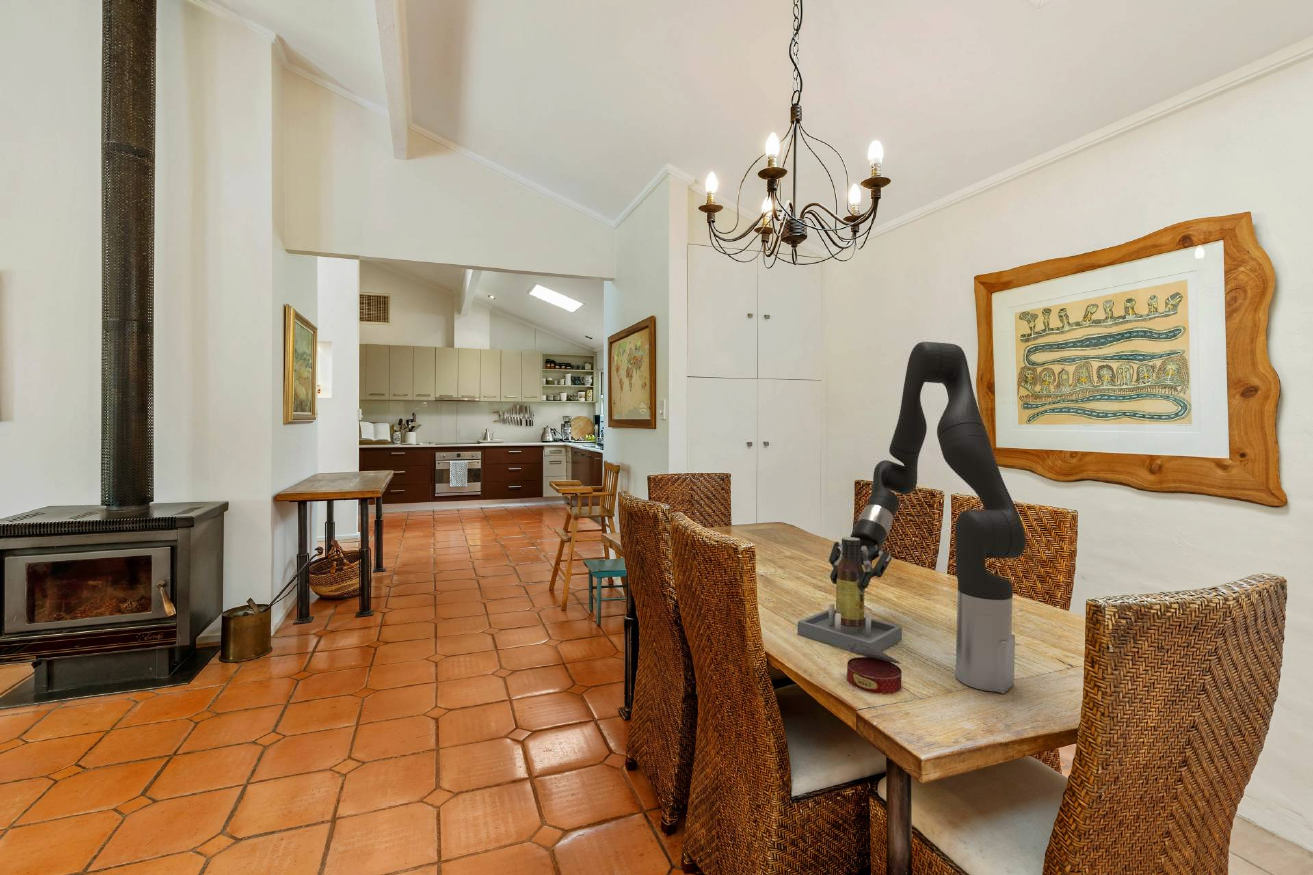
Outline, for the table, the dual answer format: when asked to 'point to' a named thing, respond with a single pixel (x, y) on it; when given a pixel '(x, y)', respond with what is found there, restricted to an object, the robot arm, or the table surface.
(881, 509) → the robot arm
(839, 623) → the pin tray
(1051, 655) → the table surface
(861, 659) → the canned food
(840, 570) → the sauce bottle
